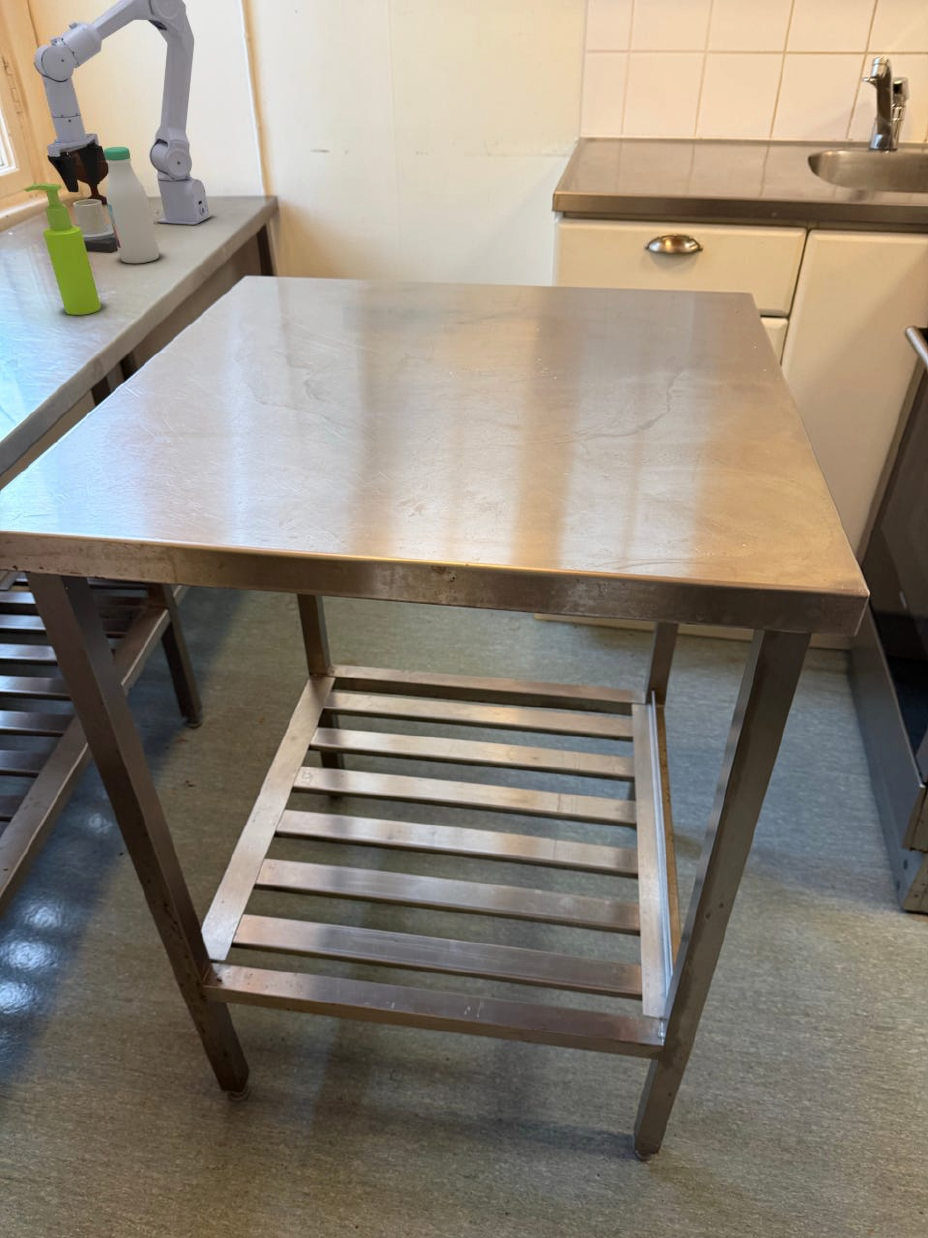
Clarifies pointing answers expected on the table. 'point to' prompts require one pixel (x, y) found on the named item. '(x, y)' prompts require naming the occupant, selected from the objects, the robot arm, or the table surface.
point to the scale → (101, 241)
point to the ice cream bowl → (83, 177)
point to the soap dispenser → (68, 256)
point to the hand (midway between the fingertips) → (84, 187)
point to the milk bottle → (129, 209)
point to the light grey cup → (90, 216)
